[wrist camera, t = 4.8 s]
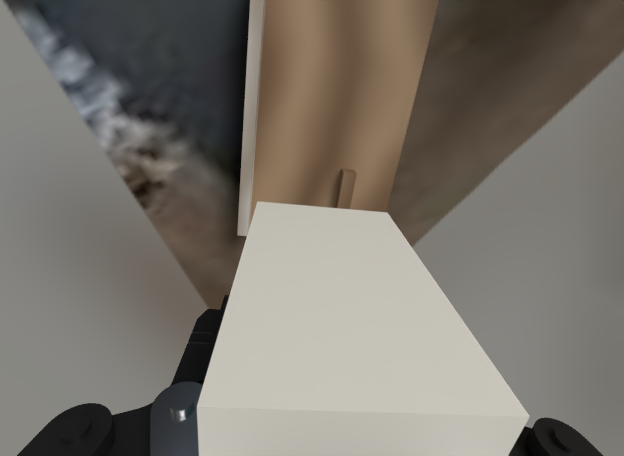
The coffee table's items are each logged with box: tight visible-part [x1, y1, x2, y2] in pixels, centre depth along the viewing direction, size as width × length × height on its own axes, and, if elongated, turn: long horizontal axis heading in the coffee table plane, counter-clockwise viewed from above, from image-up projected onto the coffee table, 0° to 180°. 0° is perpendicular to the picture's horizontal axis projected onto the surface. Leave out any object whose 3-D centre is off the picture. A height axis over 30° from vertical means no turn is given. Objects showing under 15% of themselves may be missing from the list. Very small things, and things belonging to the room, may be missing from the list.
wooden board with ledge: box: [237, 0, 439, 236], centre depth 25 cm, size 12×18×3 cm, turn 172°
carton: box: [197, 201, 530, 456], centre depth 10 cm, size 5×7×8 cm
